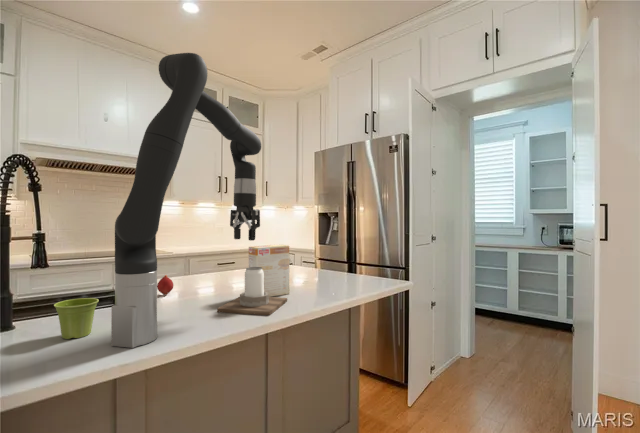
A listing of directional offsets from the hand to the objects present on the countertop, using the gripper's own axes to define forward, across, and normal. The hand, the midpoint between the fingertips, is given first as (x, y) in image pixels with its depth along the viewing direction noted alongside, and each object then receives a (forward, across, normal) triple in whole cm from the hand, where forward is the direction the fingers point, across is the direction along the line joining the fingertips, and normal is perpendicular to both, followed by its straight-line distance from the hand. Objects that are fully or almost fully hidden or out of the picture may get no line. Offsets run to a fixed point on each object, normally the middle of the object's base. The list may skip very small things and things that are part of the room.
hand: (244, 239), depth 114 cm
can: (+22, -2, -3) cm, 22 cm away
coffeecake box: (+23, +7, -17) cm, 30 cm away
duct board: (+23, -2, -3) cm, 23 cm away
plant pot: (+24, +9, +45) cm, 52 cm away
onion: (+24, +37, +11) cm, 45 cm away
